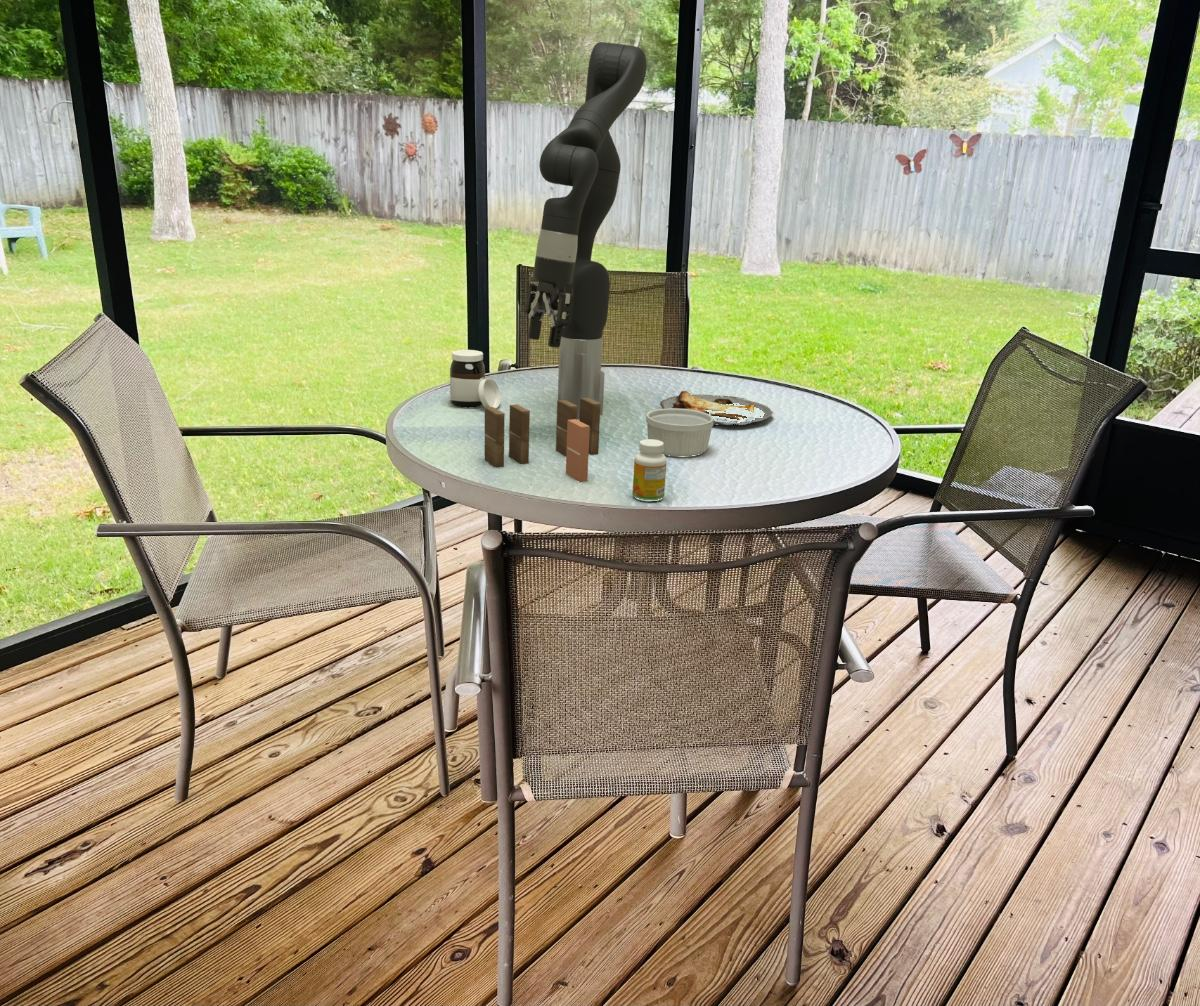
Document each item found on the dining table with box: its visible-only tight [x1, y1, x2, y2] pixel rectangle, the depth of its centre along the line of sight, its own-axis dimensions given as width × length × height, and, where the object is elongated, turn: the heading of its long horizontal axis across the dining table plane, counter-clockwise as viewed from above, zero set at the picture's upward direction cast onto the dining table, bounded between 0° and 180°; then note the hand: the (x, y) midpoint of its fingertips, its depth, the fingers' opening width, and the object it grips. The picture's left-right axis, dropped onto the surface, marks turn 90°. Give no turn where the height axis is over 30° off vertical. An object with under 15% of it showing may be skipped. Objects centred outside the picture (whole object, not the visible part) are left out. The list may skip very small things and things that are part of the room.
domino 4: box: [565, 419, 590, 483], centre depth 167 cm, size 2×5×10 cm, turn 31°
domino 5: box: [578, 398, 601, 456], centre depth 182 cm, size 2×5×10 cm, turn 31°
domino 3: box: [555, 399, 578, 457], centre depth 180 cm, size 2×5×10 cm, turn 31°
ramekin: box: [645, 408, 715, 457], centre depth 187 cm, size 13×13×7 cm
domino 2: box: [508, 403, 531, 465], centre depth 175 cm, size 2×5×10 cm, turn 31°
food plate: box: [659, 390, 774, 426], centre depth 214 cm, size 25×23×4 cm
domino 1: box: [484, 407, 506, 469], centre depth 172 cm, size 2×5×10 cm, turn 31°
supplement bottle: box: [631, 438, 668, 500], centre depth 159 cm, size 5×5×10 cm
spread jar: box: [449, 349, 502, 409], centre depth 211 cm, size 12×11×12 cm
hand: (543, 343), depth 183 cm, fingers open, 8 cm apart
